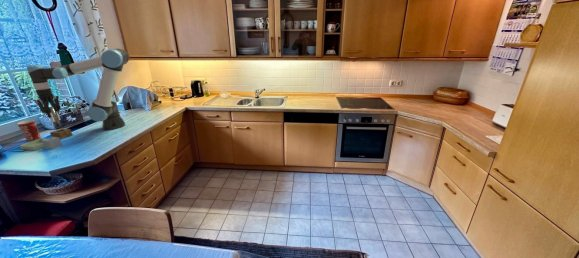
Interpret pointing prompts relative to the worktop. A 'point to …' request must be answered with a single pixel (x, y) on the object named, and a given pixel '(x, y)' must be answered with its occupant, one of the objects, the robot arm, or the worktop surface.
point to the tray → (33, 145)
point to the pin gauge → (54, 116)
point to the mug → (29, 130)
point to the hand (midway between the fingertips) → (55, 120)
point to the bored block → (61, 133)
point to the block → (52, 143)
